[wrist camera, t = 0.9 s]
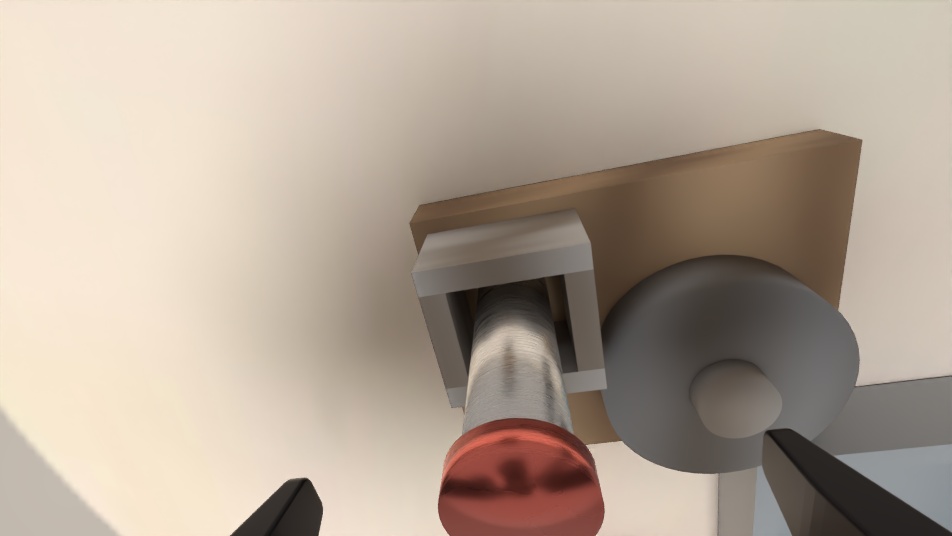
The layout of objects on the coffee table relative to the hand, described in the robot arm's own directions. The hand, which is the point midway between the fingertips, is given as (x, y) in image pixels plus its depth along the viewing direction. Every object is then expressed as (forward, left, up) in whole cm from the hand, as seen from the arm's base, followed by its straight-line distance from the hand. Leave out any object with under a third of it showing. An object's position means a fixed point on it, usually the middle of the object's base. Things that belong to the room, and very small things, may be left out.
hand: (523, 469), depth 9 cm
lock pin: (0, 0, -8) cm, 8 cm away
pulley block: (-4, +3, -10) cm, 11 cm away
